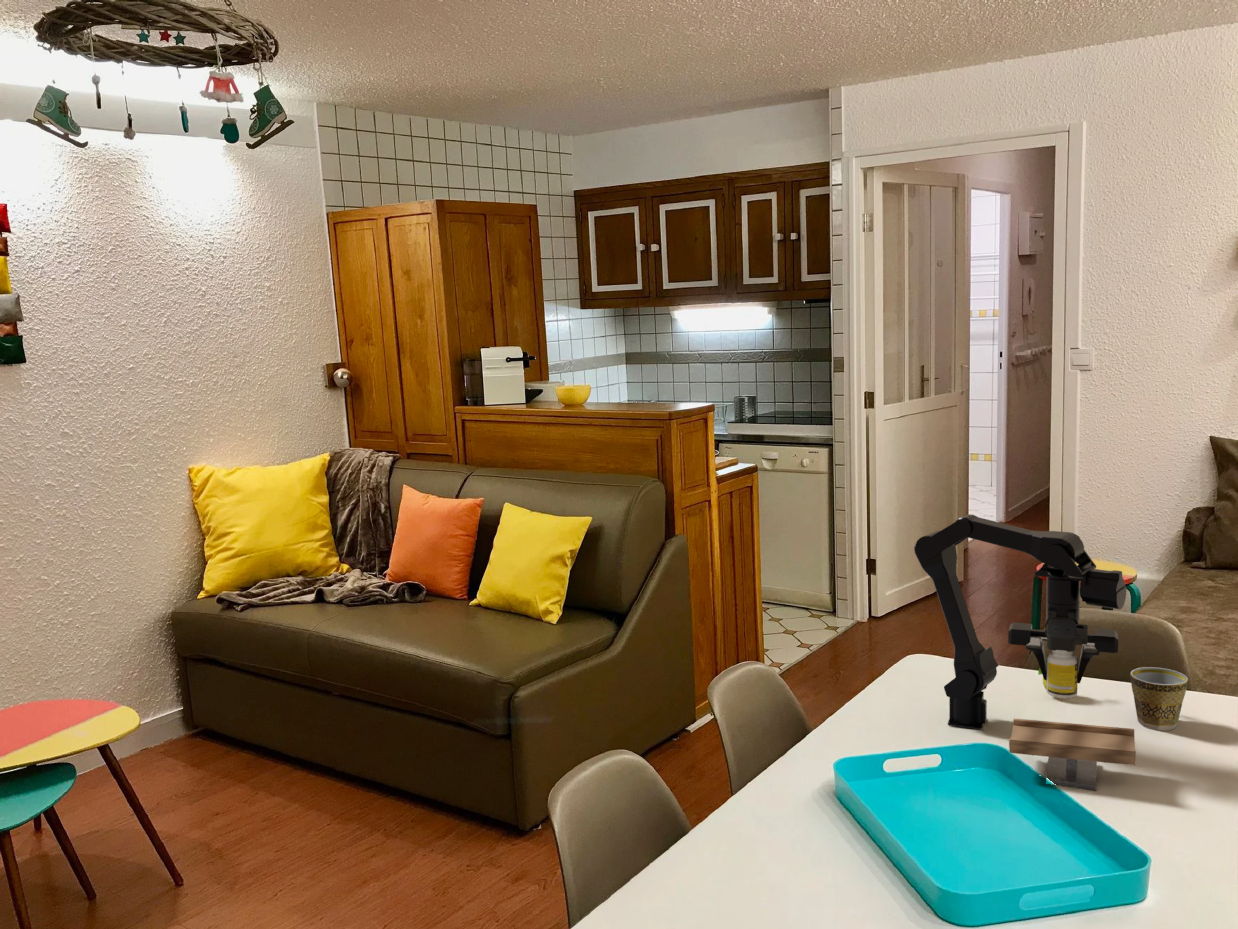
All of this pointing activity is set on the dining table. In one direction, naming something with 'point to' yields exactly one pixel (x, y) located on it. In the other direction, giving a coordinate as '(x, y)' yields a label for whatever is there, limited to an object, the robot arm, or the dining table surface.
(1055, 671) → the supplement bottle
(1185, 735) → the dining table surface
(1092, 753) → the balance board
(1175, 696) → the ceramic cup
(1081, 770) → the board stand
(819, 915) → the dining table surface
